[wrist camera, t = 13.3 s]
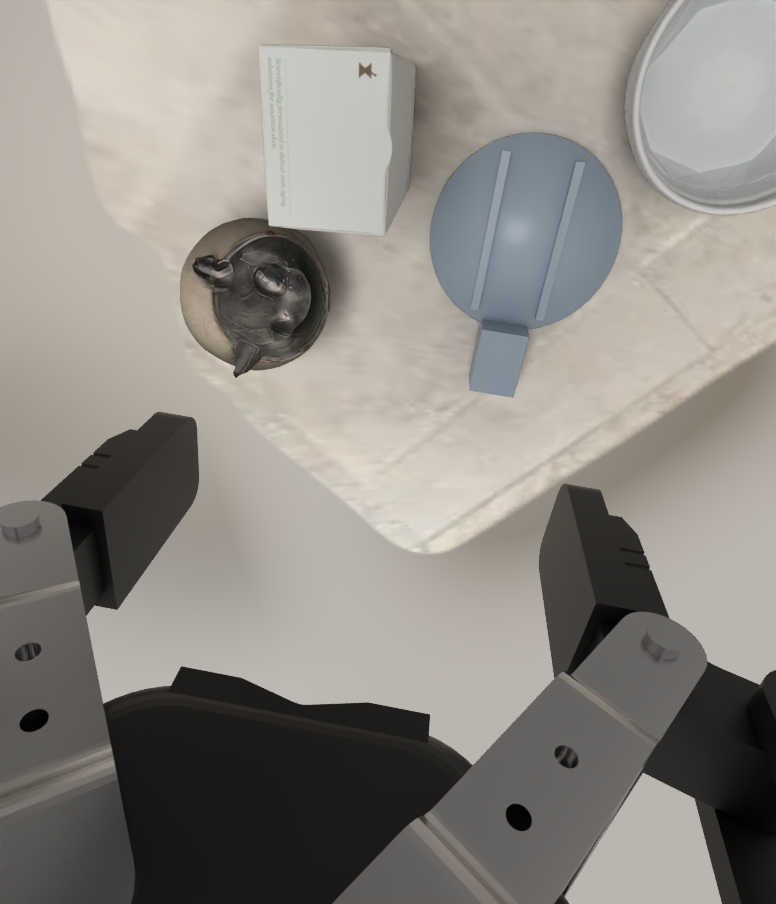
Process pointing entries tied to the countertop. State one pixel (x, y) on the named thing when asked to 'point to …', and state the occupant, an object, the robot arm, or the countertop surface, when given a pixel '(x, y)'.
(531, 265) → the lid
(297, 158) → the skincare box
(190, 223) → the countertop surface
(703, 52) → the ramekin
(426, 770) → the robot arm
